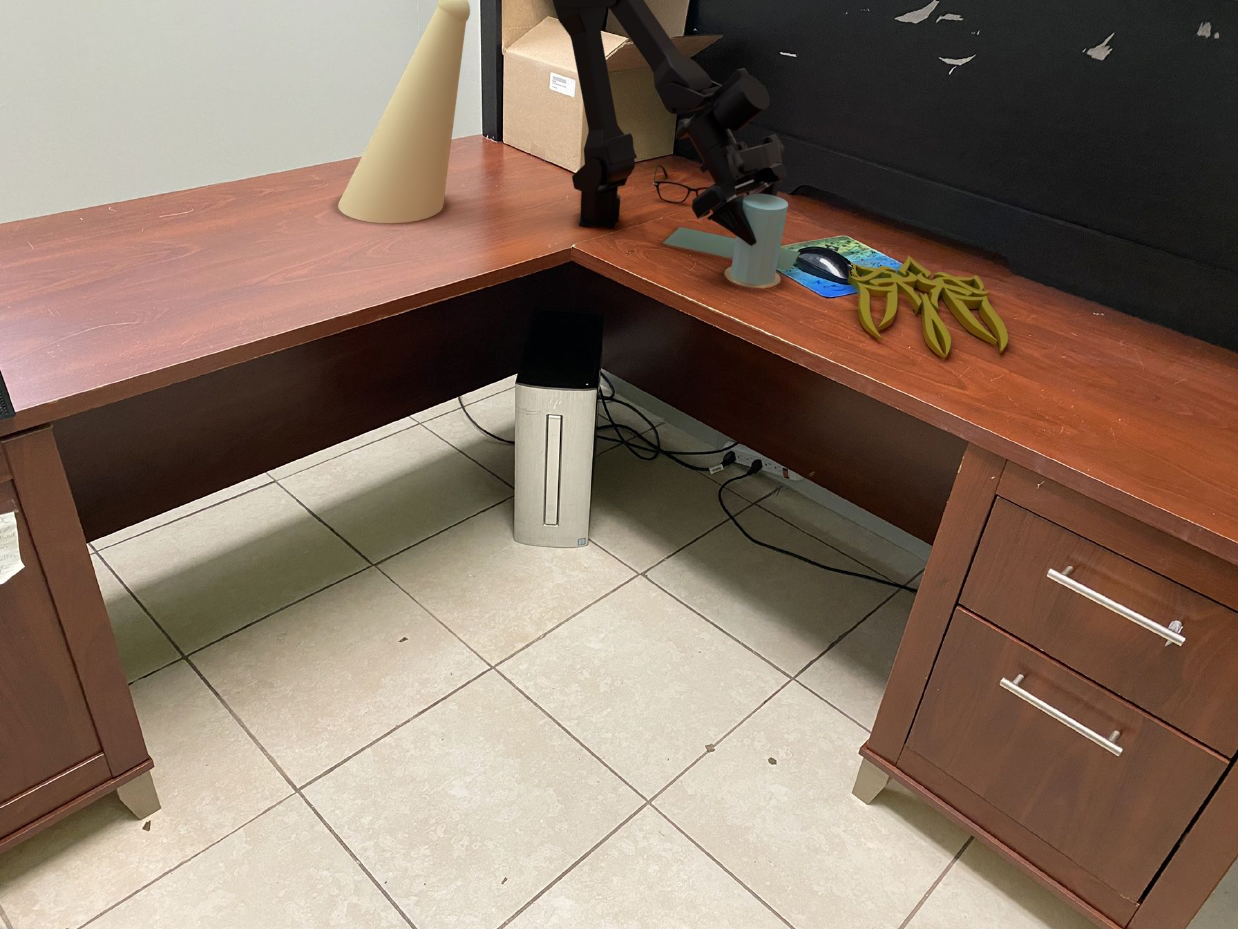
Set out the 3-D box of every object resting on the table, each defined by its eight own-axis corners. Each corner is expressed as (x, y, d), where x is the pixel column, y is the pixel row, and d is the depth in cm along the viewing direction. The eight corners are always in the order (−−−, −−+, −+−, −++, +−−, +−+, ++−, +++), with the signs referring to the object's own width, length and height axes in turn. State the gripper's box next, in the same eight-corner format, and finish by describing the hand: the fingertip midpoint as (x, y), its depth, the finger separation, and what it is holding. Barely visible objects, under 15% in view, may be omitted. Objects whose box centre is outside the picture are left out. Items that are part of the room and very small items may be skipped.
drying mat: (662, 245, 147) (662, 243, 147) (679, 229, 154) (679, 226, 154) (788, 273, 141) (788, 270, 141) (800, 254, 148) (800, 252, 148)
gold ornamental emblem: (974, 261, 146) (1028, 361, 118) (971, 270, 147) (1024, 371, 119) (842, 247, 148) (865, 342, 119) (840, 256, 148) (862, 352, 120)
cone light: (320, 215, 148) (288, -16, 127) (361, 183, 163) (339, -30, 142) (460, 233, 146) (450, 0, 126) (489, 198, 161) (484, -15, 140)
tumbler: (729, 281, 136) (740, 206, 129) (732, 264, 141) (743, 191, 134) (774, 287, 135) (788, 211, 128) (774, 269, 141) (788, 196, 134)
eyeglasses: (648, 201, 165) (650, 180, 163) (658, 176, 178) (660, 156, 176) (734, 211, 164) (737, 190, 161) (738, 185, 176) (741, 165, 174)
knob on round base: (725, 288, 135) (730, 254, 131) (722, 265, 142) (727, 232, 139) (783, 292, 135) (789, 259, 132) (776, 269, 142) (782, 237, 139)
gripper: (718, 128, 120) (772, 227, 121) (787, 108, 132) (836, 198, 133) (668, 171, 129) (719, 263, 130) (737, 148, 141) (783, 233, 142)
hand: (766, 238), depth 134 cm, fingers open, 7 cm apart
